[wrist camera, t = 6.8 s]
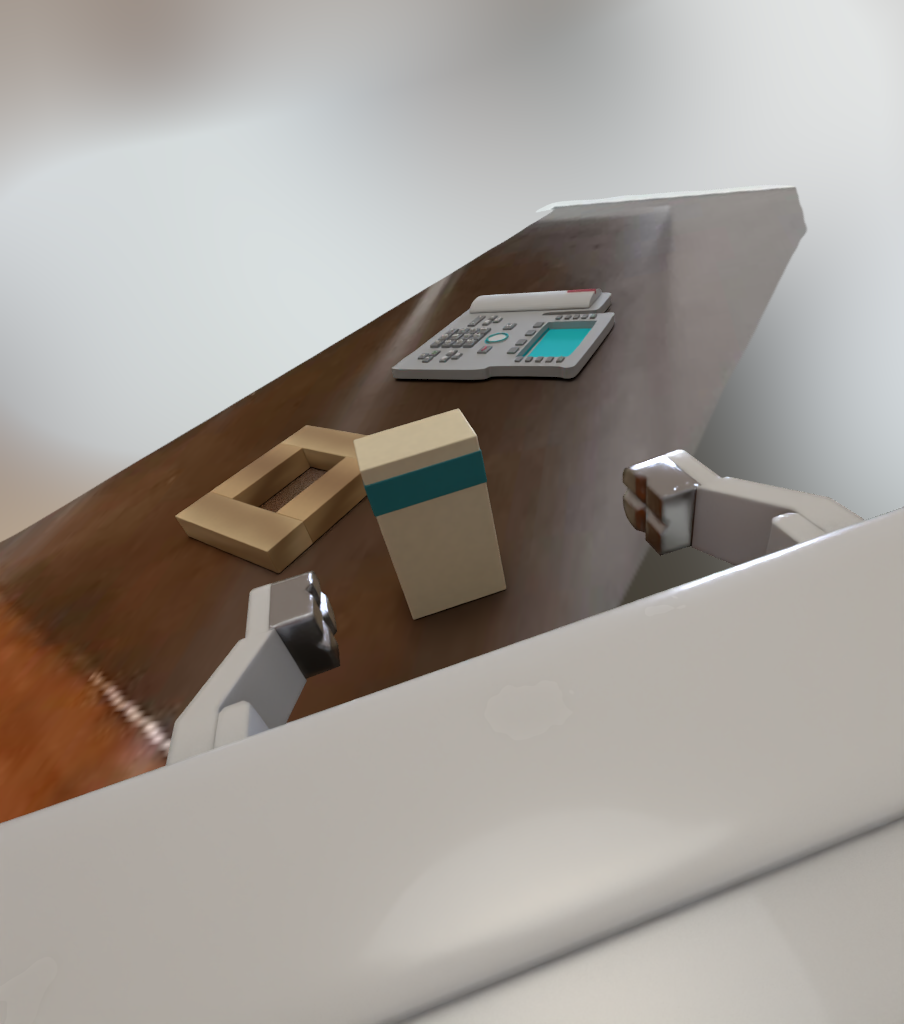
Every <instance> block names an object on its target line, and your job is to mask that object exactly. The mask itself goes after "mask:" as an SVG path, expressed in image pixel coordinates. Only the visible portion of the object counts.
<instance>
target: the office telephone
mask: <svg viewBox="0 0 904 1024" xmlns="http://www.w3.org/2000/svg"><path fill="white" fill-rule="evenodd" d="M610 305H611V293H601V290H600V289H584V290H568V291H553V292H536V293H519V294H502V295H485V296H479V297H478V298H476V299H475V300H474V301H473V303H472V305H471V307H470V309H469V310H467V311H466V312H465V313H464V314H462V315H461V316H460V317H458V318H457V319H456V320H455V321H453V322H452V323H451V324H449V325H448V326H447V327H446V328H444V329H443V330H442V331H440V332H439V333H438V334H436V335H435V336H434V337H433V338H431V339H430V340H429V341H427V342H426V343H425V344H424V345H422V346H421V347H420V348H418V349H417V350H416V351H414V352H413V353H412V354H410V355H408V356H407V357H406V358H404V359H403V360H402V361H400V362H399V363H398V364H396V365H395V366H394V367H392V368H391V369H392V372H393V376H394V378H401V379H460V380H478V379H486V378H489V377H491V376H539V377H562V378H573V377H575V376H576V375H577V374H578V373H579V372H580V370H581V369H582V368H583V366H584V365H585V364H586V363H587V361H588V360H589V359H590V357H591V356H592V355H593V353H594V352H595V351H596V349H597V348H598V347H599V345H600V344H601V343H602V341H603V340H604V338H605V337H606V336H607V334H608V333H609V332H610V330H611V328H612V327H613V325H614V313H612V312H609V313H604V312H605V311H606V310H607V308H608V307H609V306H610Z"/></svg>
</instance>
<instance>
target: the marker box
mask: <svg viewBox="0 0 904 1024" xmlns="http://www.w3.org/2000/svg"><path fill="white" fill-rule="evenodd" d="M353 442H354V447H355V452H356V456H357V461H358V465H359V470H360V474H361V476H362V480H363V484H364V488H365V491H366V494H367V496H368V499H369V502H370V505H371V507H372V510H373V513H374V516H375V517H376V518H377V521H378V523H379V526H380V529H381V532H382V534H383V537H384V540H385V543H386V545H387V548H388V551H389V554H390V557H391V559H392V562H393V565H394V568H395V570H396V573H397V576H398V579H399V581H400V584H401V587H402V590H403V592H404V595H405V598H406V601H407V604H408V606H409V609H410V612H411V615H412V617H413V619H414V620H415V619H418V618H421V617H424V616H427V615H430V614H433V613H436V612H439V611H442V610H445V609H448V608H451V607H454V606H457V605H460V604H463V603H466V602H469V601H472V600H475V599H478V598H481V597H484V596H487V595H490V594H493V593H496V592H499V591H502V590H505V589H506V583H505V578H504V573H503V568H502V563H501V558H500V552H499V547H498V542H497V537H496V532H495V527H494V521H493V516H492V511H491V506H490V501H489V496H488V490H487V485H486V482H487V478H486V473H485V468H484V463H483V457H482V452H481V450H480V448H479V444H478V439H477V435H476V434H475V432H474V431H473V429H472V428H471V426H470V425H469V423H468V422H467V420H466V419H465V417H464V416H463V414H462V412H461V411H460V410H459V409H455V410H452V411H449V412H445V413H442V414H439V415H435V416H432V417H429V418H425V419H422V420H419V421H415V422H412V423H409V424H405V425H402V426H399V427H395V428H392V429H389V430H385V431H382V432H379V433H375V434H372V435H369V436H365V437H362V438H359V439H356V440H354V441H353Z"/></svg>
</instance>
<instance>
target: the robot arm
mask: <svg viewBox="0 0 904 1024" xmlns="http://www.w3.org/2000/svg"><path fill="white" fill-rule="evenodd" d="M623 483H624V484H625V485H626V486H627V487H628V489H627V491H626V492H625V494H624V496H623V505H624V510H625V513H626V516H627V518H628V520H629V522H630V523H631V525H632V526H633V527H634V528H635V529H636V530H639V531H642V532H645V533H646V541H647V542H648V543H649V544H650V545H651V546H652V547H653V548H654V549H655V550H656V552H657V553H658V554H659V555H664V554H667V553H670V552H673V551H676V550H680V549H683V548H686V547H689V546H692V547H693V548H695V549H697V550H700V551H702V552H704V553H707V554H709V555H712V556H714V557H716V558H719V559H721V560H723V561H726V562H728V563H731V564H733V565H735V566H734V567H731V568H728V569H725V570H723V571H720V572H717V573H714V574H711V575H708V576H706V577H703V578H700V579H697V580H694V581H691V582H689V583H686V584H683V585H680V586H677V587H674V588H671V589H669V590H666V591H663V592H660V593H657V594H654V595H651V596H649V597H646V598H643V599H640V600H637V601H634V602H632V603H629V604H626V605H623V606H620V607H617V608H614V609H611V610H608V611H606V612H603V613H600V614H597V615H594V616H591V617H588V618H586V619H583V620H580V621H577V622H574V623H571V624H569V625H566V626H563V627H560V628H557V629H554V630H552V631H549V632H546V633H543V634H540V635H537V636H535V637H532V638H529V639H526V640H523V641H520V642H518V643H515V644H512V645H509V646H506V647H503V648H501V649H498V650H495V651H492V652H489V653H486V654H483V655H481V656H478V657H475V658H472V659H469V660H466V661H463V662H461V663H458V664H455V665H452V666H449V667H446V668H444V669H441V670H438V671H435V672H432V673H429V674H426V675H424V676H421V677H418V678H415V679H412V680H409V681H406V682H404V683H401V684H398V685H395V686H392V687H389V688H387V689H384V690H381V691H378V692H375V693H372V694H369V695H367V696H364V697H361V698H358V699H355V700H352V701H349V702H347V703H344V704H341V705H338V706H335V707H332V708H329V709H327V710H324V711H321V712H318V713H315V714H312V715H310V716H307V717H304V718H301V719H298V720H295V721H292V722H290V723H287V724H286V722H287V720H288V718H289V716H290V714H291V712H292V710H293V707H294V705H295V703H296V701H297V699H298V697H299V695H300V693H301V691H302V689H303V687H304V685H305V683H306V679H307V678H309V677H312V676H315V675H317V674H320V673H323V672H325V671H328V670H331V669H333V668H336V667H339V666H340V659H339V648H338V643H337V641H336V639H335V638H334V635H335V633H336V632H337V628H336V621H335V617H334V613H333V609H332V607H331V604H330V602H329V600H328V598H327V596H326V595H325V594H323V593H321V589H320V582H319V580H318V578H317V576H316V574H315V573H314V572H313V571H310V572H306V573H303V574H300V575H297V576H293V577H290V578H287V579H283V580H280V581H277V582H274V583H272V584H268V585H265V586H261V587H258V588H255V589H252V591H251V592H250V594H249V604H248V614H247V624H246V634H245V639H242V640H239V641H238V643H237V644H236V645H235V646H234V648H233V649H232V650H231V652H230V653H229V654H228V655H227V657H226V658H225V659H224V660H223V662H222V663H221V664H220V666H219V667H218V668H217V669H216V671H215V672H214V673H213V674H212V676H211V677H210V678H209V680H208V681H207V682H206V683H205V685H204V686H203V687H202V688H201V690H200V691H199V692H198V694H197V695H196V696H195V697H194V699H193V700H192V701H191V703H190V704H189V705H188V706H187V708H186V709H185V710H184V711H183V713H182V714H181V715H180V717H179V718H178V719H177V720H176V722H175V724H174V729H173V734H172V739H171V743H170V748H169V753H168V758H167V763H166V766H164V767H161V768H158V769H155V770H153V771H150V772H147V773H144V774H141V775H138V776H136V777H133V778H130V779H127V780H124V781H121V782H118V783H116V784H113V785H110V786H107V787H104V788H101V789H98V790H96V791H93V792H90V793H87V794H84V795H81V796H78V797H76V798H73V799H70V800H67V801H64V802H61V803H59V804H56V805H53V806H50V807H47V808H44V809H41V810H39V811H36V812H33V813H30V814H27V815H24V816H21V817H18V818H15V819H12V820H9V821H6V822H3V823H0V1024H904V507H902V508H899V509H896V510H893V511H890V512H887V513H885V514H882V515H879V516H876V517H873V518H870V519H868V520H864V519H862V518H861V517H859V516H858V515H856V514H855V513H853V512H851V511H850V510H848V509H847V508H845V507H843V506H842V505H840V504H839V503H837V502H836V501H834V500H832V499H831V498H829V497H825V496H820V495H815V494H810V493H805V492H800V491H795V490H791V489H786V488H781V487H776V486H771V485H766V484H760V483H756V482H751V481H746V480H741V479H736V478H731V477H725V478H721V477H719V476H718V475H717V474H715V473H714V472H713V471H711V470H710V469H708V468H707V467H706V466H704V465H703V464H702V463H700V462H699V461H698V460H696V459H695V458H694V457H692V456H691V455H690V454H688V453H687V452H685V451H684V450H680V449H679V450H676V451H673V452H670V453H667V454H665V455H662V456H660V457H658V458H655V459H652V460H649V461H646V462H643V463H640V464H637V465H634V466H631V467H628V468H625V469H624V472H623Z"/></svg>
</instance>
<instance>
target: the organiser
mask: <svg viewBox="0 0 904 1024" xmlns="http://www.w3.org/2000/svg"><path fill="white" fill-rule="evenodd" d="M365 436H367V435H361V434H355V433H349V432H344V431H338V430H332V429H326V428H320V427H314V426H308V425H306V426H305V427H303V428H302V429H301V430H299V431H298V432H296V433H295V434H293V435H292V436H290V437H289V438H288V439H286V440H285V441H283V442H282V443H280V444H279V445H277V446H276V447H274V448H273V449H271V450H270V451H268V452H267V453H266V454H264V455H263V456H261V457H260V458H258V459H257V460H255V461H254V462H253V463H251V464H250V465H248V466H247V467H245V468H244V469H242V470H241V471H240V472H238V473H237V474H235V475H234V476H232V477H231V478H229V479H228V480H227V481H225V482H224V483H222V484H221V485H219V486H218V487H217V488H215V489H214V490H212V491H211V492H209V493H208V494H206V495H205V496H204V497H202V498H201V499H199V500H198V501H196V502H195V503H194V504H192V505H191V506H189V507H188V508H186V509H185V510H183V511H182V512H181V513H179V514H178V515H176V516H175V517H176V518H177V520H178V521H179V523H180V525H181V526H182V528H183V529H184V531H185V532H186V534H187V535H188V536H189V537H192V538H194V539H197V540H199V541H201V542H204V543H206V544H209V545H211V546H213V547H216V548H218V549H221V550H223V551H225V552H228V553H230V554H233V555H235V556H238V557H240V558H242V559H245V560H247V561H250V562H252V563H254V564H257V565H259V566H262V567H264V568H267V569H269V570H271V571H274V572H276V573H280V572H281V571H282V570H283V569H285V568H286V567H287V566H288V565H289V564H290V563H291V562H292V561H294V560H295V559H296V558H297V557H298V556H299V555H300V554H301V553H303V552H304V551H305V550H306V549H307V548H308V547H309V546H310V545H312V544H313V543H314V542H315V541H316V540H317V539H318V538H319V537H321V536H322V535H323V534H324V533H325V532H326V531H327V530H328V529H329V528H331V527H332V526H333V525H334V524H335V523H336V522H337V521H338V520H340V519H341V518H342V517H343V516H344V515H345V514H346V513H347V512H349V511H350V510H351V509H352V508H353V507H354V506H355V505H356V504H358V503H359V502H360V501H361V500H362V499H363V498H364V497H365V496H366V495H367V494H366V491H365V488H364V484H363V480H362V476H361V474H360V470H359V465H358V461H357V456H356V452H355V447H354V442H353V441H354V440H356V439H359V438H362V437H365ZM310 467H313V468H318V469H322V470H326V471H328V472H327V473H325V474H324V475H323V476H322V477H320V478H319V479H318V480H316V481H315V482H314V483H313V484H311V485H310V486H309V487H308V488H306V489H305V490H304V491H303V492H301V493H300V494H299V495H298V496H296V497H295V498H294V499H293V500H291V501H290V502H289V503H288V504H286V505H285V506H284V507H282V508H281V509H280V510H279V511H277V512H276V513H274V512H271V511H268V510H265V509H262V508H259V506H260V505H262V504H263V503H264V502H266V501H267V500H268V499H270V498H271V497H272V496H273V495H275V494H276V493H277V492H279V491H280V490H281V489H283V488H284V487H285V486H287V485H288V484H289V483H290V482H292V481H293V480H294V479H296V478H297V477H298V476H300V475H301V474H302V473H304V472H305V471H306V470H307V469H309V468H310Z"/></svg>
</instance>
